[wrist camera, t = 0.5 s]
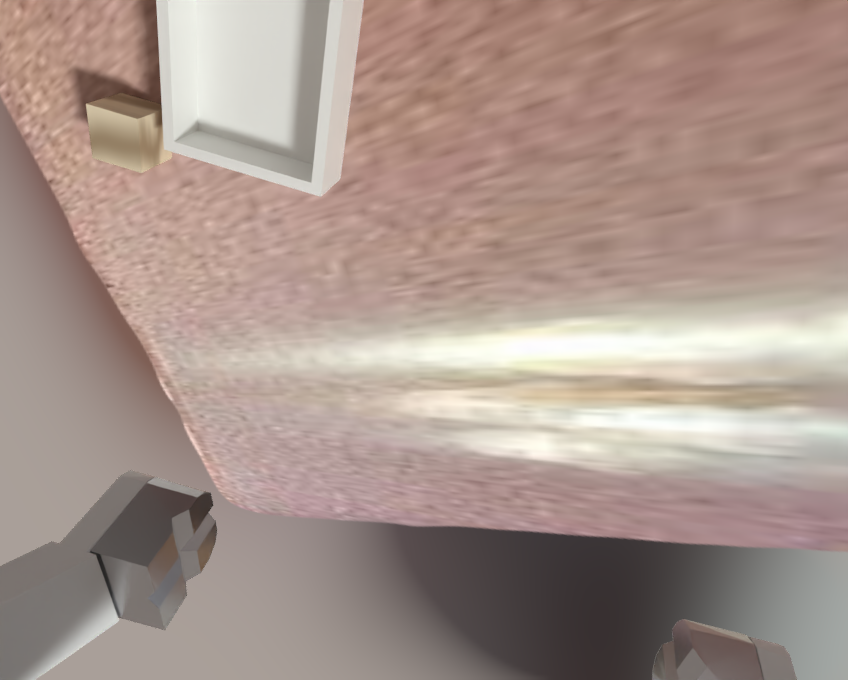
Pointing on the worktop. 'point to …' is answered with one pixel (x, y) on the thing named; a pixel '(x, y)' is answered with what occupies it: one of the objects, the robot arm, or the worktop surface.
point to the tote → (260, 85)
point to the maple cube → (127, 132)
